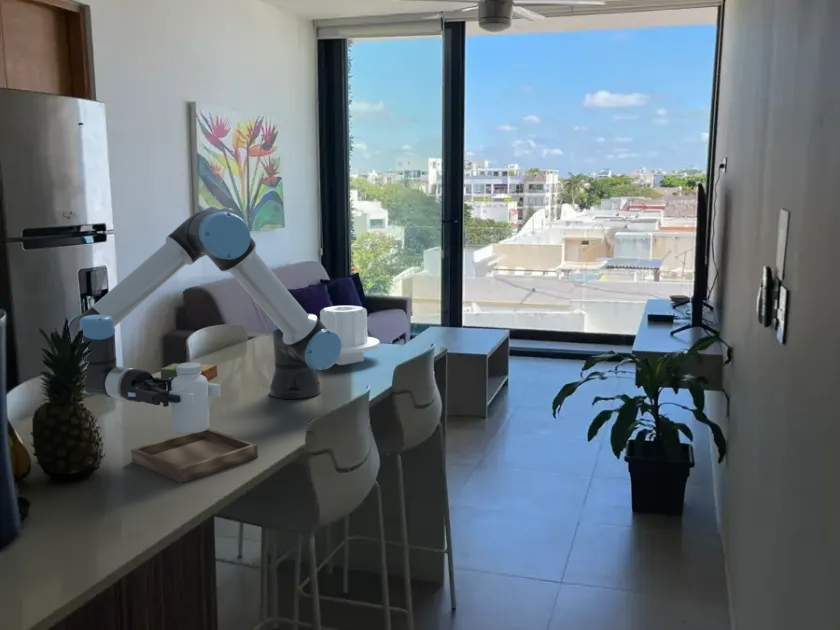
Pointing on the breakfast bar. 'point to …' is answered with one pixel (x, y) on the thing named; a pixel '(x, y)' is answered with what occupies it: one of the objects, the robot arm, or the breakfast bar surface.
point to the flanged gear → (349, 331)
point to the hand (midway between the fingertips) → (206, 395)
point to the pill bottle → (198, 415)
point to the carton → (206, 371)
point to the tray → (194, 454)
